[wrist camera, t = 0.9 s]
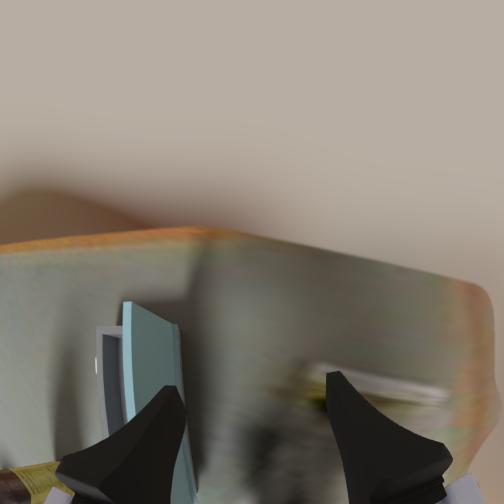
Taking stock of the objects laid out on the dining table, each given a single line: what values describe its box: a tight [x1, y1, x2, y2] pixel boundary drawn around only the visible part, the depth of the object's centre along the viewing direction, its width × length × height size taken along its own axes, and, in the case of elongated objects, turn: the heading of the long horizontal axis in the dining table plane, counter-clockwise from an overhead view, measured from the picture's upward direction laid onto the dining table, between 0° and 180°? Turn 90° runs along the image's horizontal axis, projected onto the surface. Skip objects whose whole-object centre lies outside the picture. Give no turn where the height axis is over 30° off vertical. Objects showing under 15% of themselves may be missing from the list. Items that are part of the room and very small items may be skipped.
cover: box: [123, 302, 198, 504], centre depth 15 cm, size 18×9×1 cm
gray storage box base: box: [95, 326, 198, 493], centre depth 21 cm, size 18×8×4 cm, turn 5°
